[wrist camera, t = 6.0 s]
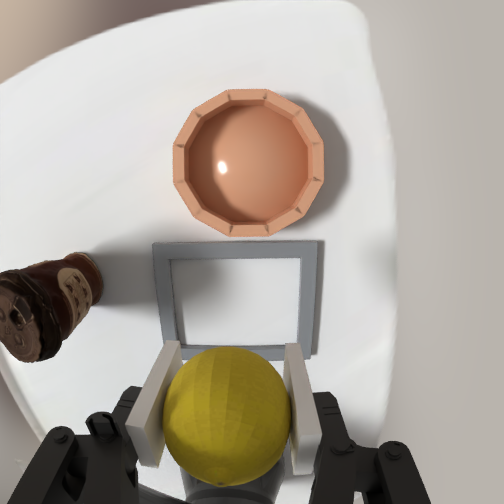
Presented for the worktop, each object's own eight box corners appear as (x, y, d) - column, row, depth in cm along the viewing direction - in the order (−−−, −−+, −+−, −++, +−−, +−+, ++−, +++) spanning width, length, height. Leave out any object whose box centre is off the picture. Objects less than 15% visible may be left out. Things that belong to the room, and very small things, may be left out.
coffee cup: (111, 244, 30) (38, 282, 17) (118, 316, 31) (61, 381, 19) (49, 242, 30) (-28, 273, 17) (58, 309, 31) (-6, 359, 19)
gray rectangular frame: (309, 355, 32) (310, 359, 32) (167, 355, 32) (165, 359, 32) (315, 240, 30) (317, 242, 29) (154, 242, 30) (152, 244, 29)
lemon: (200, 404, 17) (177, 513, 9) (169, 327, 15) (114, 436, 8) (290, 391, 16) (308, 506, 9) (273, 309, 15) (289, 426, 7)
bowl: (316, 230, 29) (323, 235, 26) (182, 232, 29) (175, 237, 26) (314, 99, 26) (321, 91, 24) (180, 101, 26) (173, 93, 24)
